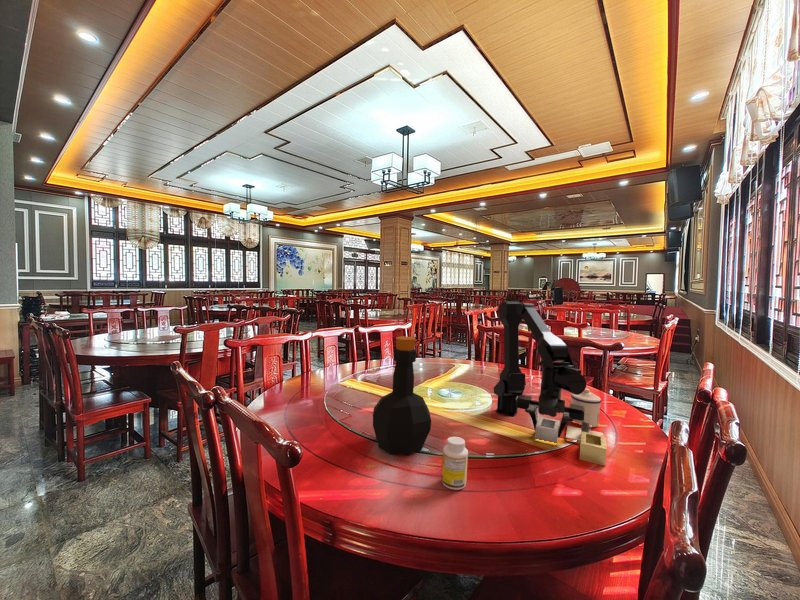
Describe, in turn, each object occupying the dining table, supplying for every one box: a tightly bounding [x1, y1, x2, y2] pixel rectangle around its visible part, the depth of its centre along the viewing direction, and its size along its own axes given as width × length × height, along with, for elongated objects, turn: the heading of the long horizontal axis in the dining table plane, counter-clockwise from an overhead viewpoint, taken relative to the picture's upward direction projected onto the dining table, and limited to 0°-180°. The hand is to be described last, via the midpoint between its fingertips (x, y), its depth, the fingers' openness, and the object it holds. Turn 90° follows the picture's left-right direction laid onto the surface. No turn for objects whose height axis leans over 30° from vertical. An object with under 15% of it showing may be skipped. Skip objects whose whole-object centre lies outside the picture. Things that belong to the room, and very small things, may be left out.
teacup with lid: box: [570, 387, 602, 428], centre depth 125 cm, size 12×9×12 cm
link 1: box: [534, 416, 561, 444], centre depth 110 cm, size 9×6×4 cm, turn 152°
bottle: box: [372, 335, 432, 456], centre depth 99 cm, size 16×16×30 cm
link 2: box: [579, 431, 608, 466], centre depth 100 cm, size 9×6×4 cm, turn 152°
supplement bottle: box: [441, 436, 469, 491], centre depth 82 cm, size 6×6×10 cm
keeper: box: [565, 421, 604, 445], centre depth 110 cm, size 10×10×5 cm
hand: (547, 434), depth 110 cm, fingers closed on link 1, 6 cm apart
